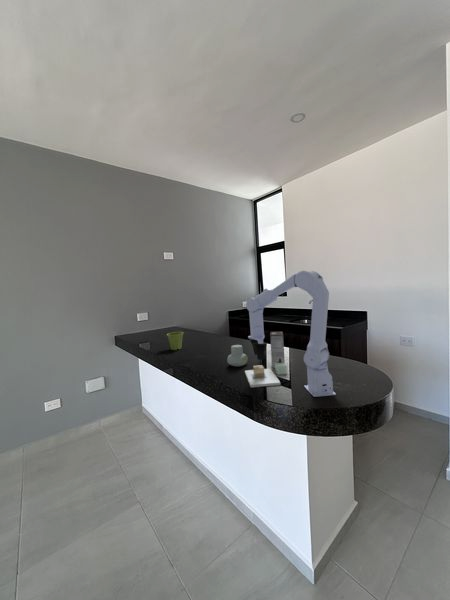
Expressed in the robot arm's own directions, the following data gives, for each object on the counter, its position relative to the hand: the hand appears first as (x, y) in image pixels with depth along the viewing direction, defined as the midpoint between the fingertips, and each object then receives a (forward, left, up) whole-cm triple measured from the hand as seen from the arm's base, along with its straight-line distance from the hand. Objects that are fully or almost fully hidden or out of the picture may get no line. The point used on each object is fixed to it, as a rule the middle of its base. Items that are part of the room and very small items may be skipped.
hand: (258, 356), depth 108 cm
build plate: (0, 0, -9) cm, 9 cm away
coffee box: (+17, -12, -10) cm, 23 cm away
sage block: (+5, -10, -10) cm, 15 cm away
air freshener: (+22, +8, -10) cm, 25 cm away
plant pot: (+71, +47, -10) cm, 85 cm away
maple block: (0, 0, -8) cm, 8 cm away
